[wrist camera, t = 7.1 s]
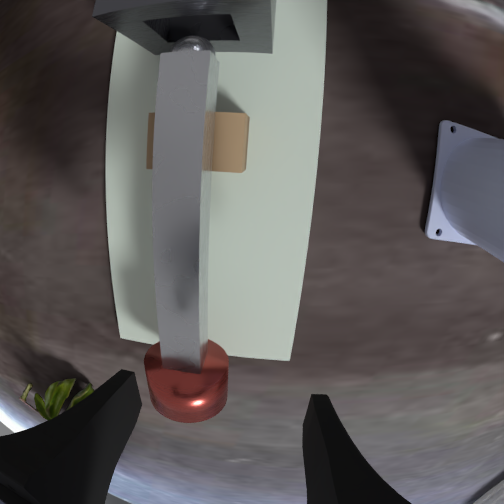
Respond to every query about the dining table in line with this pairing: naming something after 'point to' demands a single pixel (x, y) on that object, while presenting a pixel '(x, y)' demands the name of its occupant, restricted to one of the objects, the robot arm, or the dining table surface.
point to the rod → (184, 236)
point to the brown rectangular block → (218, 142)
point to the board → (227, 187)
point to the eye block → (192, 22)
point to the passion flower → (56, 397)
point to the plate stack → (493, 495)
